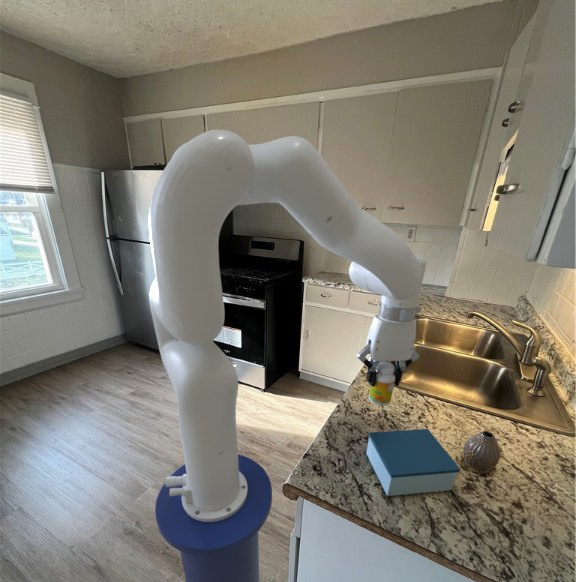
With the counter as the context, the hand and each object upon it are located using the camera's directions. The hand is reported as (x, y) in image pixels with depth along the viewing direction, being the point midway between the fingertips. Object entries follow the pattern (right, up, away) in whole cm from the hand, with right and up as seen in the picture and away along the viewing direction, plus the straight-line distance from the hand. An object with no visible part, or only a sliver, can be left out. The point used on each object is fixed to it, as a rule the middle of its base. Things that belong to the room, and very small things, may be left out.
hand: (382, 382), depth 76 cm
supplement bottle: (0, -5, +2) cm, 5 cm away
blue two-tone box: (+3, -19, -7) cm, 20 cm away
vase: (+20, -18, -5) cm, 27 cm away
